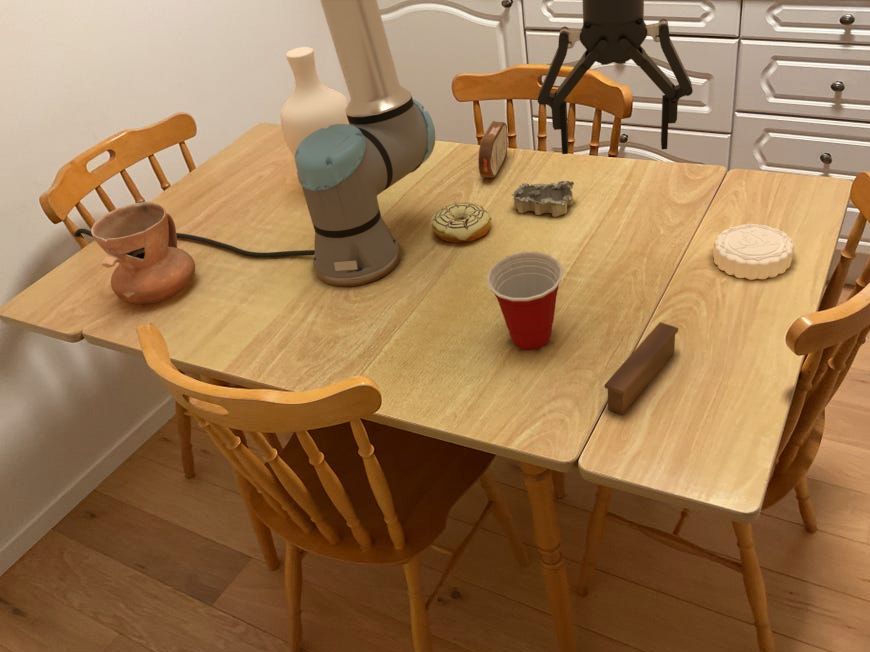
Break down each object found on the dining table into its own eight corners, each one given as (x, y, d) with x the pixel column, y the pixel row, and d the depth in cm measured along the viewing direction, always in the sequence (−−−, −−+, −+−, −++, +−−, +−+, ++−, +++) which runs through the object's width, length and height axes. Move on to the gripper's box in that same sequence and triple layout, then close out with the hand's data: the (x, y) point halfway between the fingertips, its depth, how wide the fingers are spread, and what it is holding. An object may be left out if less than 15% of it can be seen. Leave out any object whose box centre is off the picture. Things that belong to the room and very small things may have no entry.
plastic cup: (484, 356, 113) (474, 289, 106) (509, 313, 121) (501, 247, 113) (554, 367, 110) (549, 299, 102) (576, 322, 117) (572, 255, 109)
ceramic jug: (166, 320, 131) (132, 248, 122) (97, 313, 135) (60, 243, 126) (222, 261, 144) (195, 193, 135) (157, 257, 148) (127, 190, 139)
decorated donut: (469, 251, 136) (466, 233, 134) (422, 238, 142) (418, 220, 139) (502, 223, 142) (499, 205, 140) (455, 212, 148) (452, 194, 145)
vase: (288, 190, 164) (246, 56, 146) (342, 164, 170) (310, 33, 152) (325, 210, 155) (287, 70, 137) (382, 181, 161) (352, 44, 144)
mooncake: (777, 235, 128) (780, 216, 126) (802, 275, 119) (806, 256, 117) (704, 244, 129) (706, 225, 127) (724, 284, 120) (726, 265, 118)
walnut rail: (605, 409, 102) (604, 384, 99) (659, 346, 110) (659, 321, 108) (623, 417, 101) (623, 391, 98) (677, 353, 109) (678, 327, 106)
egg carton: (577, 200, 146) (576, 180, 143) (562, 220, 141) (561, 200, 138) (526, 193, 150) (524, 174, 147) (509, 212, 145) (507, 192, 143)
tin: (497, 151, 166) (493, 114, 160) (511, 151, 165) (508, 113, 160) (479, 185, 155) (474, 146, 150) (494, 185, 154) (489, 146, 149)
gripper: (508, 2, 94) (523, 163, 108) (721, -16, 89) (708, 155, 103) (515, -15, 100) (528, 140, 113) (715, -33, 95) (704, 131, 109)
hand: (614, 147), depth 108 cm, fingers open, 13 cm apart
